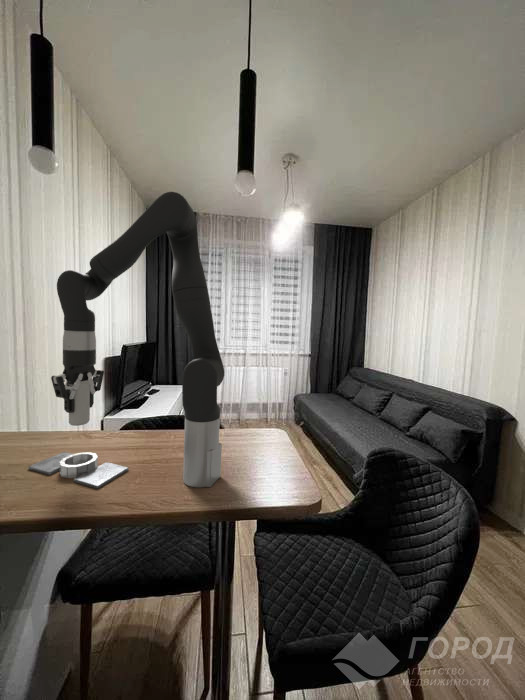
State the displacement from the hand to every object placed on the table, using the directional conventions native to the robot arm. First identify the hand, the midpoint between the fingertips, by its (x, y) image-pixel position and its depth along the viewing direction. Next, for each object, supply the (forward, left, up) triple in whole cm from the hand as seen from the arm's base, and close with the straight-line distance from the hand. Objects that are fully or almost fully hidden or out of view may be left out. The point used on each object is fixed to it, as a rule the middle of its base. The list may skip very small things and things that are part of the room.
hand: (79, 409), depth 76 cm
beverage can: (0, 0, -4) cm, 4 cm away
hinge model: (0, 0, -17) cm, 17 cm away
